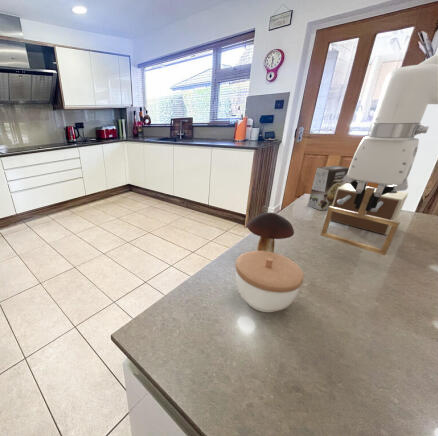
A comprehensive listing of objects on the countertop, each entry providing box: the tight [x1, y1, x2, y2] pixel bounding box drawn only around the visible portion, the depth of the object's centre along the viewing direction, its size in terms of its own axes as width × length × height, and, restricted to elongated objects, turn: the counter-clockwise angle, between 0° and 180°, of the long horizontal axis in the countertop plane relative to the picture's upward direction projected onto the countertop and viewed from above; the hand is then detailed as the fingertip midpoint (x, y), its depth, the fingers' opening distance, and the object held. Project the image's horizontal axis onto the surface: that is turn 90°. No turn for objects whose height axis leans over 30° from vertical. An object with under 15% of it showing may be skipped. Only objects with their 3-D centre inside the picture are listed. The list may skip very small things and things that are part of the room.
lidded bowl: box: [234, 250, 305, 313], centre depth 50 cm, size 13×13×11 cm
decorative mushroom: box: [246, 212, 295, 253], centre depth 61 cm, size 11×11×15 cm
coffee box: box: [307, 164, 349, 211], centre depth 93 cm, size 9×6×16 cm
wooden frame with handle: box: [320, 186, 401, 256], centre depth 60 cm, size 14×1×16 cm, turn 36°
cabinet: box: [330, 183, 409, 236], centre depth 77 cm, size 16×18×12 cm
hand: (363, 208), depth 59 cm, fingers closed on wooden frame with handle, 1 cm apart
